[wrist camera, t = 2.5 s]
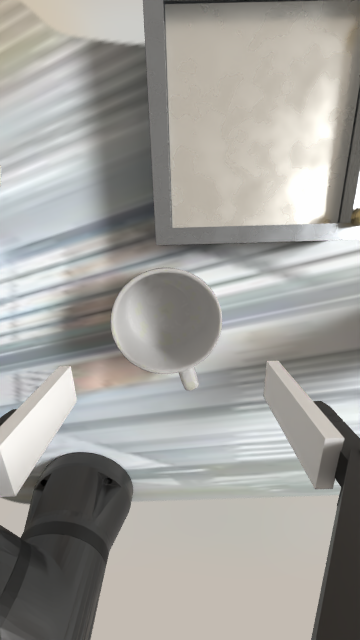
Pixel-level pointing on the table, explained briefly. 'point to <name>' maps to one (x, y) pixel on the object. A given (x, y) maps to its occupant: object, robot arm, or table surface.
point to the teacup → (167, 322)
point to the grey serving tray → (254, 119)
